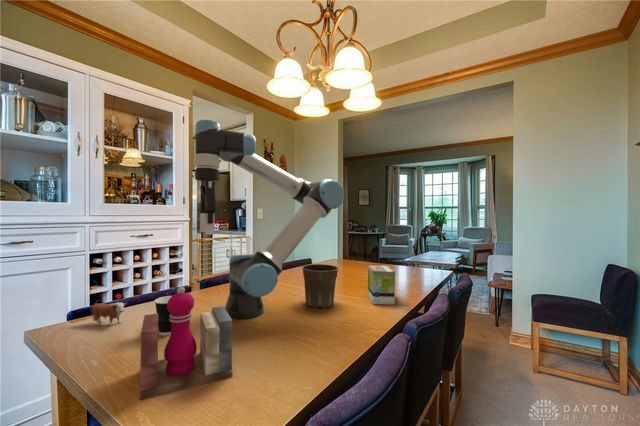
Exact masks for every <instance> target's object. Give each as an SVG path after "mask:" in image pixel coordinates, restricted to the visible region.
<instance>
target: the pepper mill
mask: <svg viewBox="0 0 640 426" xmlns="http://www.w3.org/2000/svg"><path fill="white" fill-rule="evenodd" d="M171 296H172V297H171V298H170V299H169V300H168V303H167V309H168V311H169V312H170V313H171V314H170V316H169V317H170V319H169V321H170V322H171V324H172V329H171V335H169V338H168V340H167V342H166V345H165V347H164V350H163V351H164V352H163V356H164V359H166V360H167V361H168V363H167V364H166V372H167V374H169V375H173V376H177V375H182V374H185V373H188V372H190V371H191V370H192V369H193V368H194V366H195V359H194V357H193V356H194V355H195V353H197V349H198V346H197V342H196V339H195V337H194V335H193V333H192V331H191V319H192V318H193V316H192V315H193V312H192V310H193V308H194V306H195V299H194V298H195V297H193V296H192V294H190V293H187V292H186V289H185V287H183V286H180V287H178V288H177V289H176V293H175V294H173V295H171Z"/></svg>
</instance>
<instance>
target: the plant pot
mask: <svg viewBox="0 0 640 426" xmlns="http://www.w3.org/2000/svg"><path fill="white" fill-rule="evenodd" d="M301 269H302V275H303V276H302V277H303V278H304V280H303V281H304V295H305V304H306V306H308V307H311V308H316V309H317V308H318V309H319V308H320V307H321V308H322V309H324V308H330V307H332V306H333V305H334V303H335V302H334V300H335V299H334V298H335V291H336V290H335V289H336V283H337V282H336V281H337V278H338V272H339V270H340V268H339V266H336V265H333V264H324V263H321V264H320V263H316V264H314V263H312V264H305V265H302V266H301Z"/></svg>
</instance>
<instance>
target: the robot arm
mask: <svg viewBox="0 0 640 426" xmlns="http://www.w3.org/2000/svg"><path fill="white" fill-rule="evenodd" d="M194 133H195V134H194V138H195V139H194V140H195V141H194V144H195V145H194V147H195V149H194V150H195V151H194V152H195V154H194V167H195V169H194V179H195V180H196V181H198V182H202V184H201V185H200V189H199V192H200V198H199V199H200V201H199V202H200V203H199V213H200V214H199V232H200V233H204V235H208V236H209V235H210V236H211V235H215V233H216V232H215V231H216V230H215V229H216V228H215V224H216V223H215V220H216V217H215V214H216V213H215V212H217V211H216V210H217V207H216V194H215V188H216V187H215V182H220V170H219V169H220V163H222V161H223V162H228V163H232V164H233V165H235V166H238V167H239V168H241V169H243V170H245V171H247V172H248V173H251V174H252V175H254V176H256V177H258V178H259V179H261V180H263V181H265V182H267V183H268V184H270V185H272V186H274V187H276V188H278V189H280V190H282V191H283V192H285V193H287V194H288V195H289V197H290V199H293V200H295V201H296V202H297V203H300V204H302V205H301V206H300V207H299V208H298V210H297V211H296V212H295V213H294V214H293V216H292V217H291V218H290V219H289V220H288V222H286V224H285V225H284V226H283V227H282V228H281V229H280V231H279V232H278V233H277V234H276V236H274V238H273V239H272V240H271V241H270V242H269V244H267V246H266V247H265V248H264V249H260V250H257V251H256V252H255V253H251V254H249V253H248V254H235V255H231V256H230V258H229V263H228V265H229V283H228V284H229V285H228V288H229V293H228V297H227V300H226V302H225V303H226V304H225V306H224V308H225V310H226V311H227V313H228V314H229V316H230V317H231V319H237V320H238V319H240V320H244V319H252V318H255V317H258V316H261V315H262V314H263V313H264V312H265V307H264V302H263V301H264V300H263V298H262V297H265V296H268V295H269V294H270V293H272V292H273V291H274V289H275V288H276V286H277V285H278V278H279V276H280V274H281V273H282V272H283V264H284V263H285V261H286V260H287V259H288V258H289V257H290V256H291V254H292V253H293V252H294V250H296V248H297V247H298V246H299V244H300V243H301V242H302V241H303V239H304V238H305V237H306V236H307V235H308V233H310V231H311V230H312V228H313V227H314V226H315V225H316V224H317V222H318V221H319V220H320V219H323V218H324V219H325V218H326V217H327V216H328V215H329V213H330V212H331V211H332V210H334V209H337V208H340V206H342V204H343V202H344V200H345V191H344V188H343V186H342V184H341V183H340V182H339V181H337V180H336V179H332V178H331V179H329V178H325V179H323V180H320V181H319V180H318V181H308V180H306V179H304V178H301V177H299V178H297V177H295V176H294V175H292V174H290V173H288V172H287V171H285V170H283V169H282V168H280V167H279V166H276V165H275V164H274V163H271V162H270V161H268V160H266V159H264V158H263V157H261V156H259V155H258V154H256V149H257V148H256V147H257V139H256V137H255V135H253V134H251V133H248V132H247V133H246V132H239V131H232V130H226V129H221V125H220V123H219V122H218V121H214V120H211V119H200V120H198V121H197V122H196V124H195V132H194Z"/></svg>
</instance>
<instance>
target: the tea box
mask: <svg viewBox="0 0 640 426" xmlns="http://www.w3.org/2000/svg"><path fill="white" fill-rule="evenodd" d="M367 267H368V268H367V295H368V296H367V297H368V298H369V299H370V301H371V303H372V304H373V305H395V294H396V293H395V291H396V290H395V288H396V286H395V285H396V271H395V270H394V269H392V268H391V267H390V266H388V265H368V266H367Z"/></svg>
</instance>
